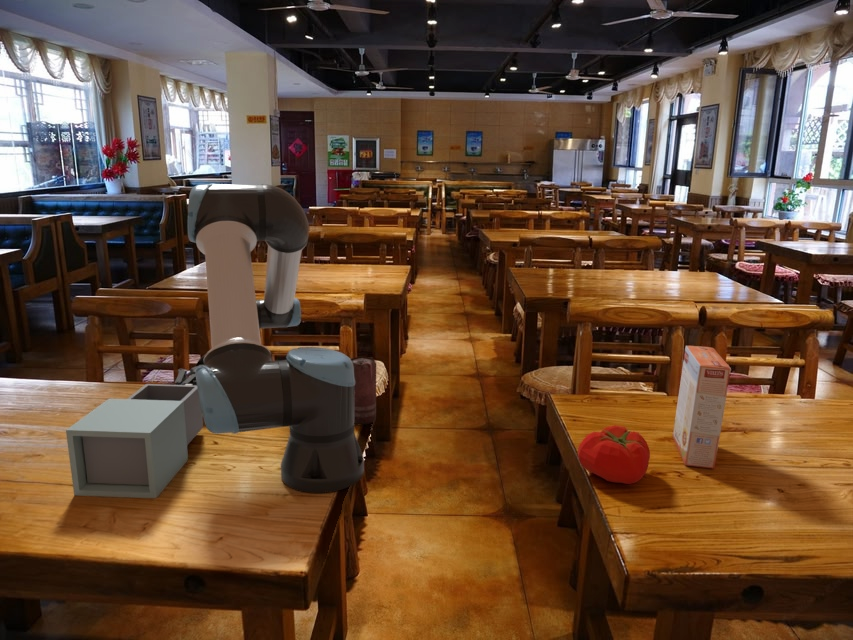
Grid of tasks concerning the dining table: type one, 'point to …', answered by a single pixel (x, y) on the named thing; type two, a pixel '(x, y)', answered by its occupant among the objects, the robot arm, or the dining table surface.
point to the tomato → (615, 454)
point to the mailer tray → (137, 439)
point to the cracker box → (701, 406)
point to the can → (364, 390)
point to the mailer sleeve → (132, 420)
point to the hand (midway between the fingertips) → (177, 400)
